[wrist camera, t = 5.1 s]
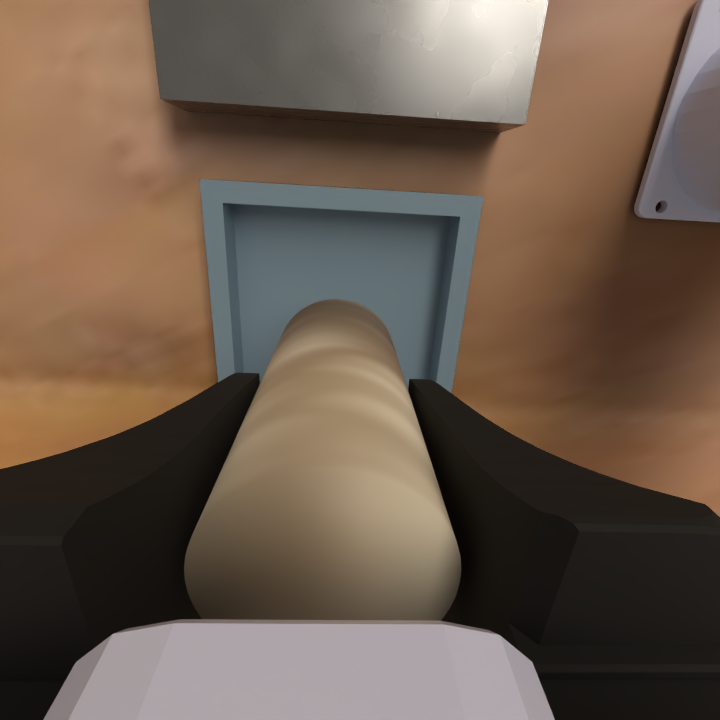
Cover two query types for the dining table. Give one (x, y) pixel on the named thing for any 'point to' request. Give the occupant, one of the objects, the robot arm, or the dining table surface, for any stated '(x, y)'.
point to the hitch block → (352, 59)
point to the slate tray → (338, 267)
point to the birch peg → (326, 489)
